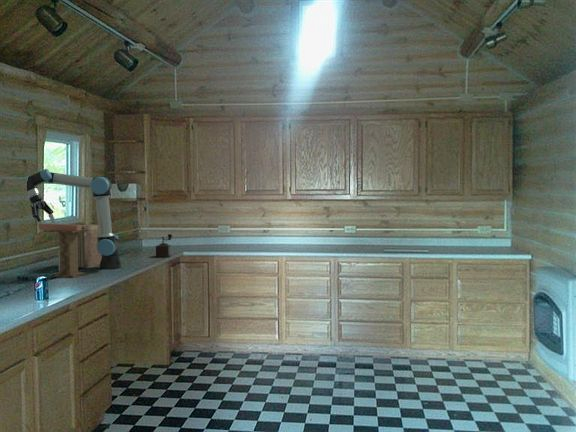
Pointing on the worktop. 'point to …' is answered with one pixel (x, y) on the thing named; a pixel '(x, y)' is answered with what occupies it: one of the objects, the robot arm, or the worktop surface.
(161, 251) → the coffee grinder
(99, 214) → the robot arm
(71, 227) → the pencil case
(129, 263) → the worktop surface
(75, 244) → the shelf stand
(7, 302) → the worktop surface
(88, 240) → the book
